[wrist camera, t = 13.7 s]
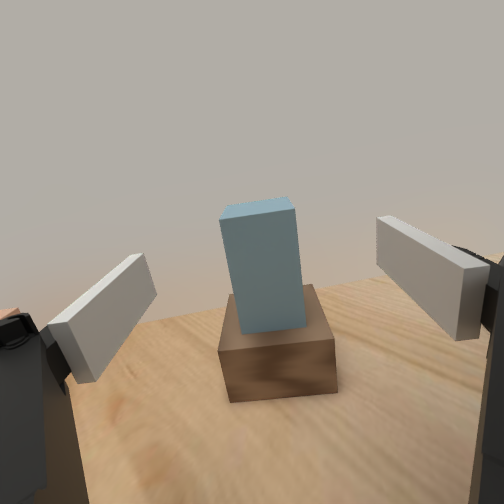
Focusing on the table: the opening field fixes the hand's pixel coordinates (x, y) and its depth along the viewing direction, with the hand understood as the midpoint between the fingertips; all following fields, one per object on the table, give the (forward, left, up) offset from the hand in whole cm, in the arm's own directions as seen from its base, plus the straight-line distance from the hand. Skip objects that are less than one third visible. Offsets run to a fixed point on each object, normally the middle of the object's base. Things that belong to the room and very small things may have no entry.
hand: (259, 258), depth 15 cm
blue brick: (0, -10, -10) cm, 14 cm away
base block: (0, -10, -16) cm, 19 cm away
